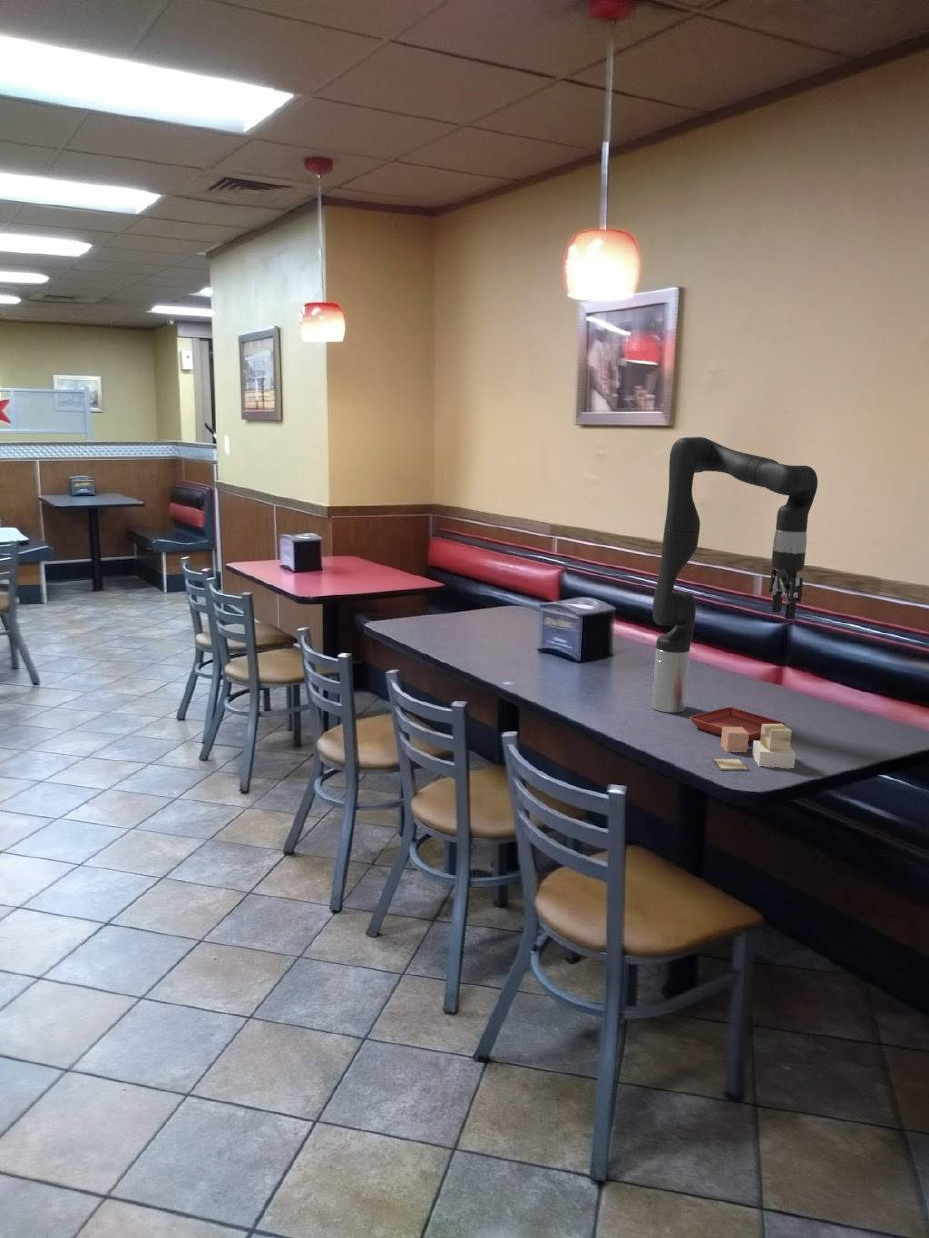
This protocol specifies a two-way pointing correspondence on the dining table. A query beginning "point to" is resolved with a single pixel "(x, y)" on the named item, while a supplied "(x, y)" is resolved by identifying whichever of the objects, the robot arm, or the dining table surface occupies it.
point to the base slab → (773, 757)
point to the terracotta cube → (734, 739)
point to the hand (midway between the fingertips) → (782, 615)
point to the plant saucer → (732, 721)
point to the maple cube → (775, 737)
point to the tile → (730, 764)
